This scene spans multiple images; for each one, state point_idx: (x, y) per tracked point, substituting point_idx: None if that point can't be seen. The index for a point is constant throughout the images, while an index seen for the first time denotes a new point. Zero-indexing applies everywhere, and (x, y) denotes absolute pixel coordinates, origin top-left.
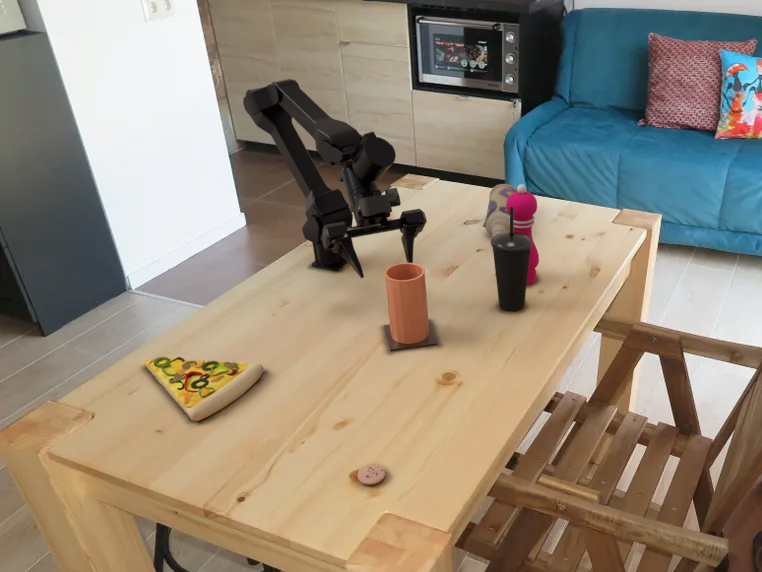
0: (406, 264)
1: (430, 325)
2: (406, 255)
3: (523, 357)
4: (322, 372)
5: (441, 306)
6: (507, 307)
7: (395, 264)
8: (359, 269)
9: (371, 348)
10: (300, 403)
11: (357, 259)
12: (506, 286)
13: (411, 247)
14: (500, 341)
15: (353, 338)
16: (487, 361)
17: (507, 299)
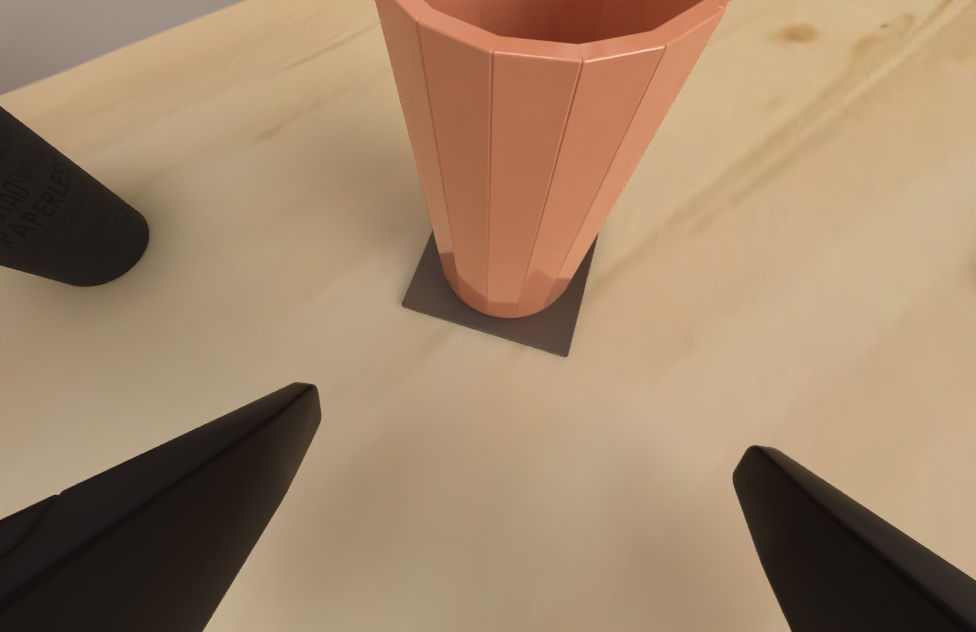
0: (460, 26)
1: (420, 266)
2: (226, 541)
3: (303, 33)
4: (824, 221)
5: (300, 381)
6: (131, 208)
7: (575, 54)
8: (834, 497)
9: (651, 259)
10: (891, 132)
11: (968, 619)
12: (27, 130)
13: (66, 507)
14: (296, 107)
15: (693, 347)
16: (388, 59)
17: (96, 182)
